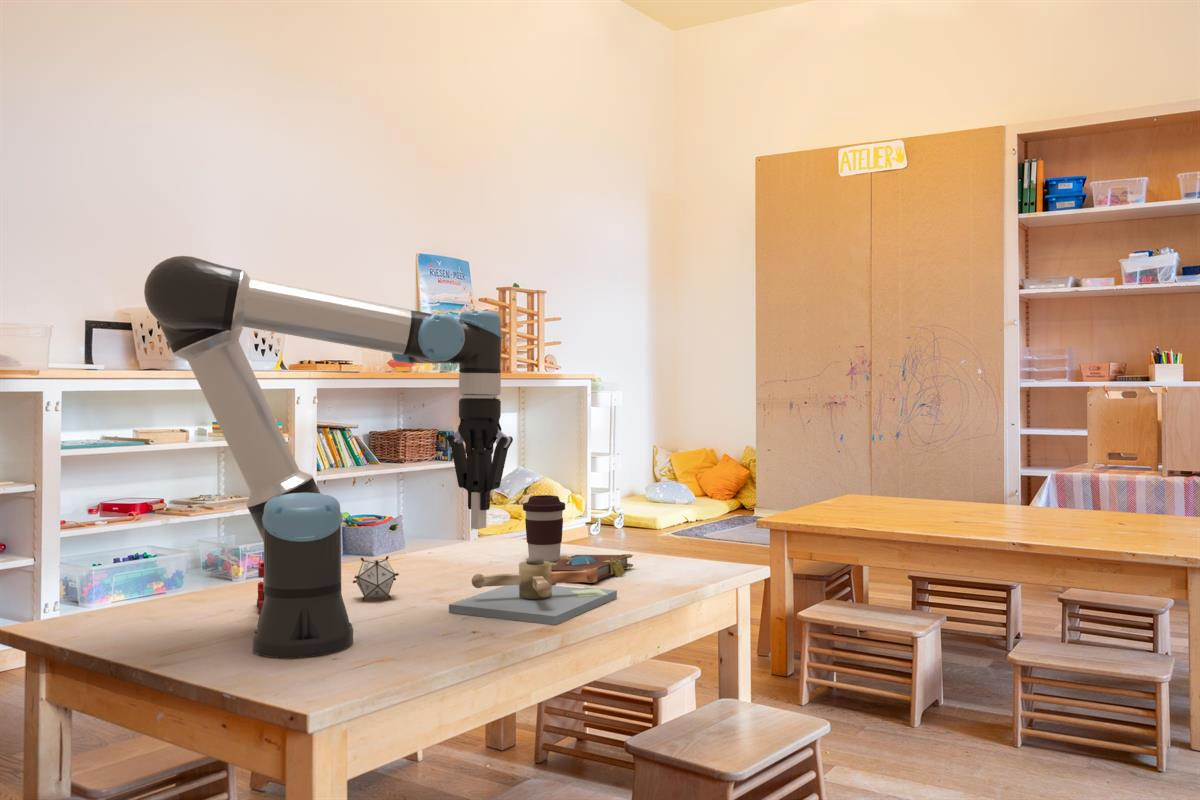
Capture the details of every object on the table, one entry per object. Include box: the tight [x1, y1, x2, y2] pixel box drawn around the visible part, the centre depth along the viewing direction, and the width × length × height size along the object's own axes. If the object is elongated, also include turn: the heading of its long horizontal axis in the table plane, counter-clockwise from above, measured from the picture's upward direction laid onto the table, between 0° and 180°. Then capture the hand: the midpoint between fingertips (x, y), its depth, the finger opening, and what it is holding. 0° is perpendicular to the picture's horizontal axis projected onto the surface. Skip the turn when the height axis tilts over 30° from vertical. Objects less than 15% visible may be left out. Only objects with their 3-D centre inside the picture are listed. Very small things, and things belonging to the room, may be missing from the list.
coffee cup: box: [522, 494, 566, 563], centre depth 233 cm, size 10×10×15 cm
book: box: [551, 553, 634, 584], centre depth 213 cm, size 16×25×5 cm, turn 155°
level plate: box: [448, 583, 618, 626], centre depth 184 cm, size 24×22×3 cm
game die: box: [352, 555, 400, 602], centre depth 191 cm, size 9×8×10 cm
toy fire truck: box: [256, 561, 264, 614], centre depth 181 cm, size 3×14×10 cm, turn 21°
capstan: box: [471, 557, 598, 599], centre depth 184 cm, size 24×24×7 cm
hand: (478, 527), depth 179 cm, fingers closed
